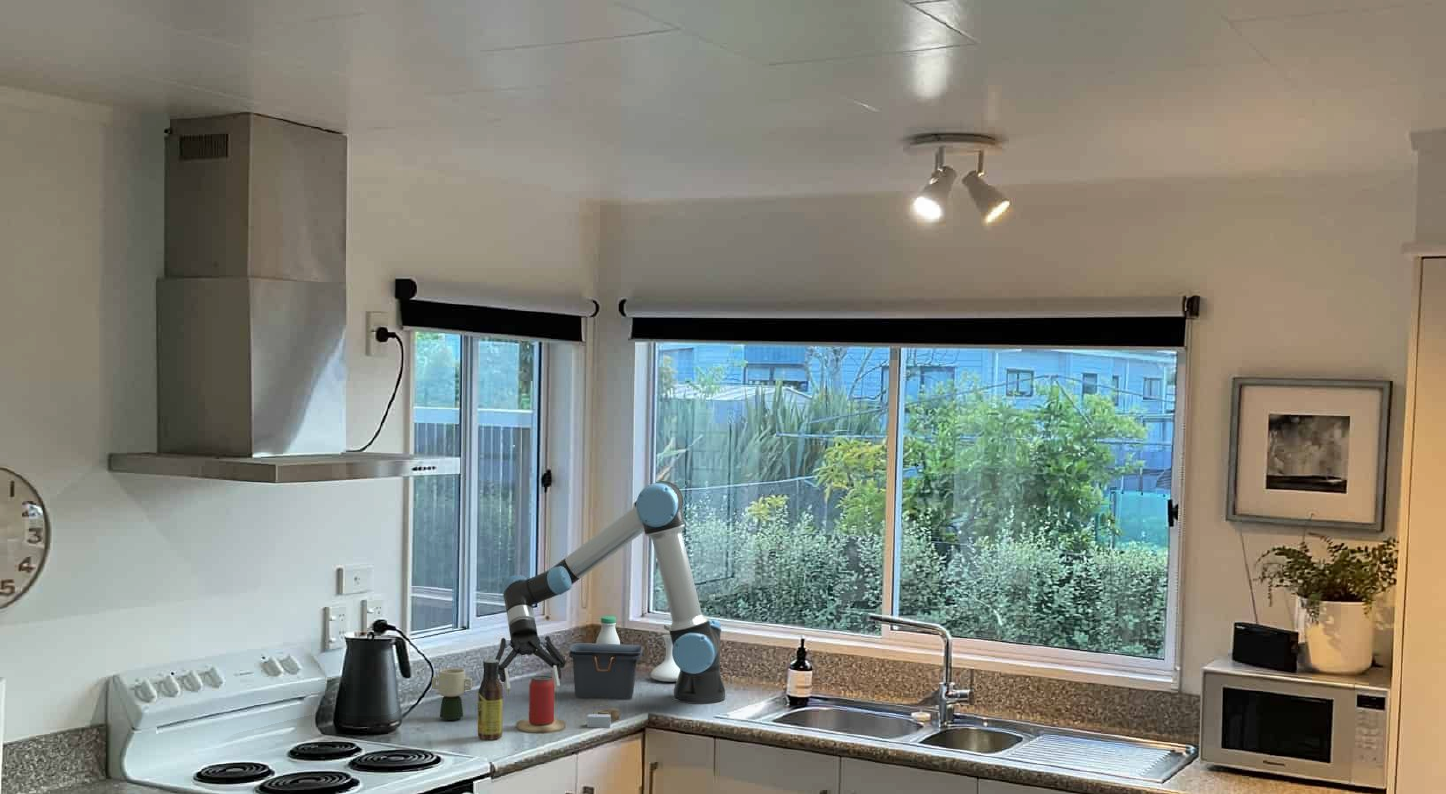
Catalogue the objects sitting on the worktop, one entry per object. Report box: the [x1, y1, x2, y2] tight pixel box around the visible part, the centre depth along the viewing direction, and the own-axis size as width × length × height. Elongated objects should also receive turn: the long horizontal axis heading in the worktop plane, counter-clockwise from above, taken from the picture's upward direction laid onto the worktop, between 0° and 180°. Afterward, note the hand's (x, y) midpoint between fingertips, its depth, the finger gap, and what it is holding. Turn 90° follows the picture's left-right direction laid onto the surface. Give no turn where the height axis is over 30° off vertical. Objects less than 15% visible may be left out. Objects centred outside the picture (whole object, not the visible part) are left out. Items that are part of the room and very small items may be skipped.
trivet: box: [515, 717, 567, 734], centre depth 362 cm, size 13×13×1 cm
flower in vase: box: [650, 624, 680, 683], centre depth 425 cm, size 13×11×25 cm
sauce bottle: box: [477, 658, 504, 741], centre depth 349 cm, size 7×6×20 cm
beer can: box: [528, 675, 556, 725], centre depth 362 cm, size 7×7×12 cm
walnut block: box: [597, 707, 621, 723], centre depth 371 cm, size 6×3×3 cm, turn 150°
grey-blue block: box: [586, 713, 612, 729], centre depth 364 cm, size 6×3×3 cm, turn 92°
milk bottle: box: [595, 615, 621, 645], centre depth 420 cm, size 8×8×20 cm
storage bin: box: [568, 642, 644, 700], centre depth 400 cm, size 21×16×14 cm
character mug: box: [431, 667, 473, 721], centre depth 369 cm, size 11×7×13 cm, turn 87°
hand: (533, 689), depth 372 cm, fingers open, 13 cm apart
